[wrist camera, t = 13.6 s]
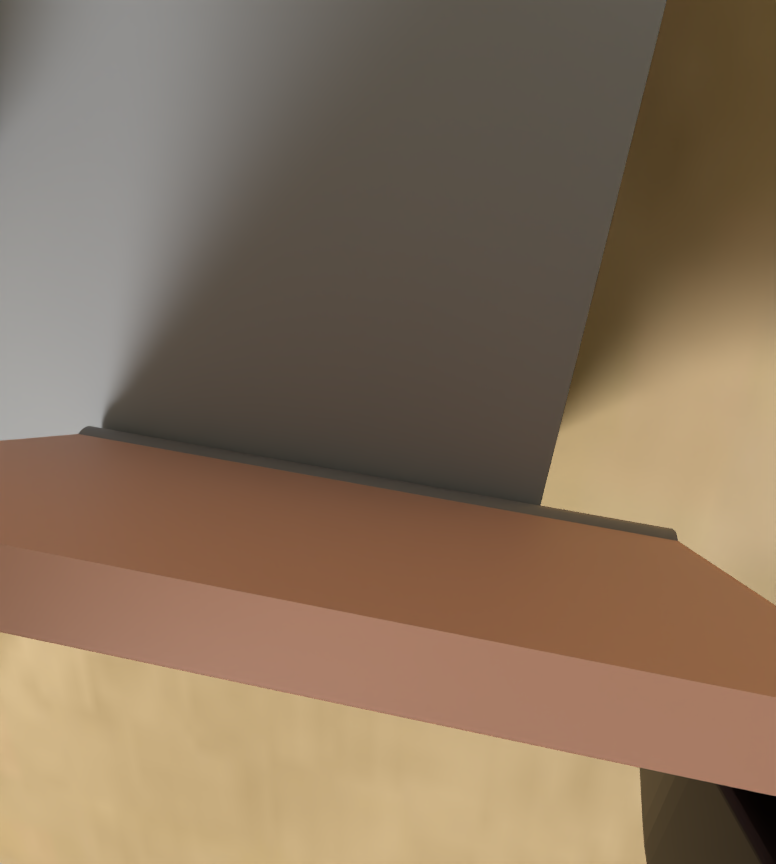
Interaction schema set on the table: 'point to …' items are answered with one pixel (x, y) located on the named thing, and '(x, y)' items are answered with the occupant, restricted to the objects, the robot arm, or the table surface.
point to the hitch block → (312, 223)
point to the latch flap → (392, 600)
